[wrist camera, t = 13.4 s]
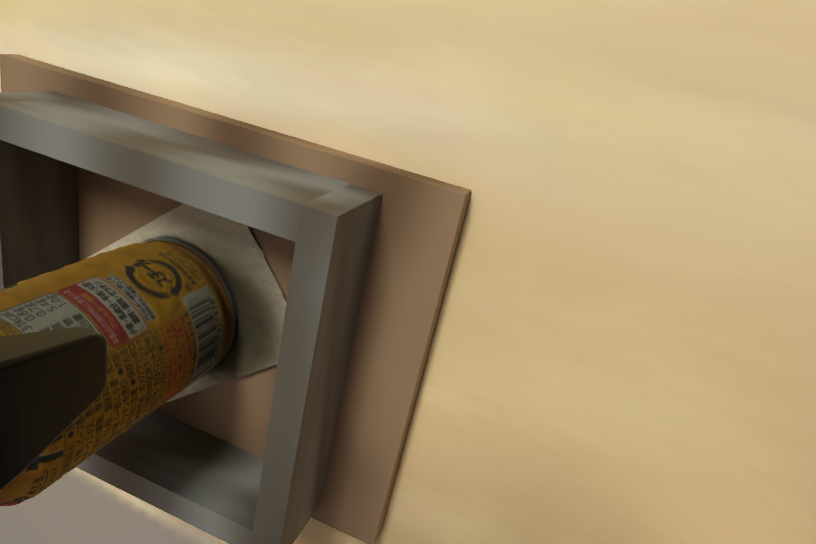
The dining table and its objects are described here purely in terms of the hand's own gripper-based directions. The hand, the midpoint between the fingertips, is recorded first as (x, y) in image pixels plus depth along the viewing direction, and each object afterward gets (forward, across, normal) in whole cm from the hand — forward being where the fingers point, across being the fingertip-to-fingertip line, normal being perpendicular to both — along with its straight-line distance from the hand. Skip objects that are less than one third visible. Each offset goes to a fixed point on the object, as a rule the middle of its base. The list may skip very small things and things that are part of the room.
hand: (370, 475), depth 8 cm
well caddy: (+13, +12, +7) cm, 19 cm away
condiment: (+12, +12, +7) cm, 18 cm away
